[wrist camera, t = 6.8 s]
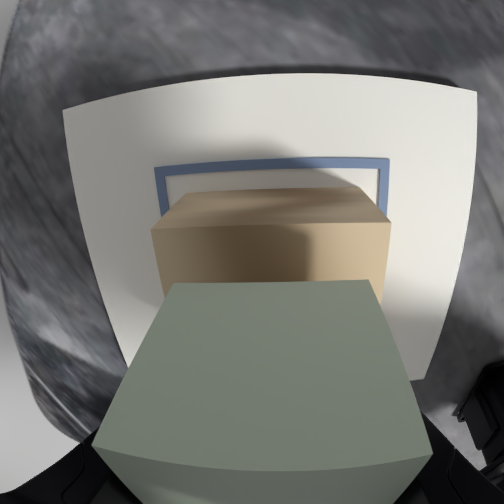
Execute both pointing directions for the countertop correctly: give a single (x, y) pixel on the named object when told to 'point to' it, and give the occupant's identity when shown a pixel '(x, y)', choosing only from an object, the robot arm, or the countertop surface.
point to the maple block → (273, 237)
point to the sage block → (266, 399)
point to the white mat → (280, 178)
